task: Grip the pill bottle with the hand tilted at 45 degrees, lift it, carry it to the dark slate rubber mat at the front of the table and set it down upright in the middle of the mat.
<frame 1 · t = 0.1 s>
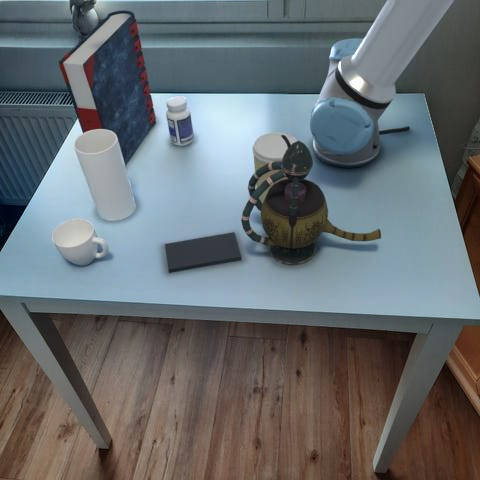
book: (129, 144, 116), on the table
coffee cup: (275, 195, 102), on the table
teapot: (310, 250, 91), on the table
mat: (202, 253, 92), on the table
cup 2: (89, 259, 92), on the table
cup: (117, 209, 101), on the table
pill bottle: (182, 140, 116), on the table
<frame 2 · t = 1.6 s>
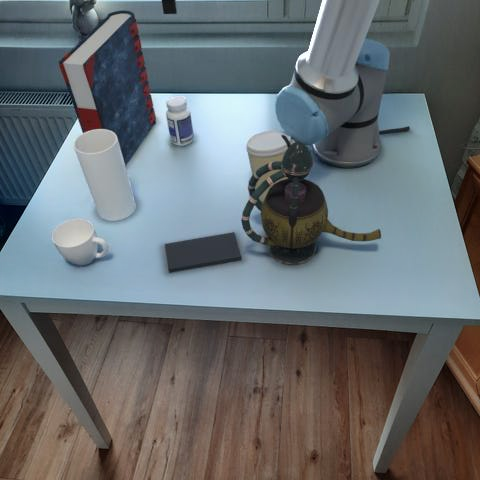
hand: (175, 0, 100), 27 cm above the table, tool pointing down, fingers open, 13 cm apart
coffee cup: (275, 194, 102), on the table, touching arm
everything else where it was.
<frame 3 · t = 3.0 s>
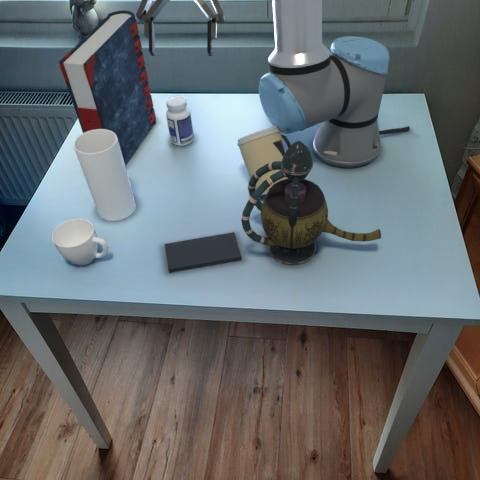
hand: (180, 54, 110), 15 cm above the table, tool tilted 45°, fingers open, 13 cm apart
coffee cup: (274, 191, 100), point 1 cm above the table, touching arm
everything else where it was.
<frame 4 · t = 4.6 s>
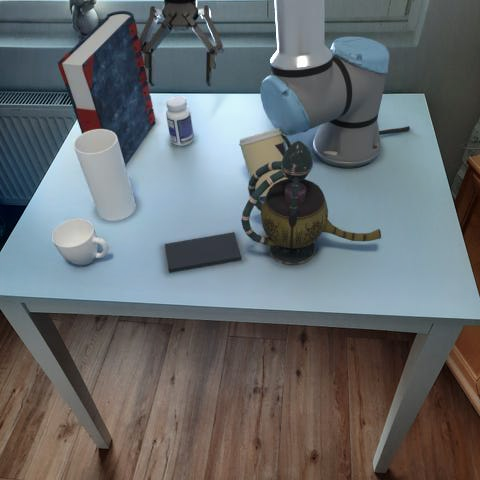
hand: (180, 84, 111), 11 cm above the table, tool tilted 45°, fingers open, 13 cm apart
book: (128, 145, 115), on the table, touching gripper
everything else where it was.
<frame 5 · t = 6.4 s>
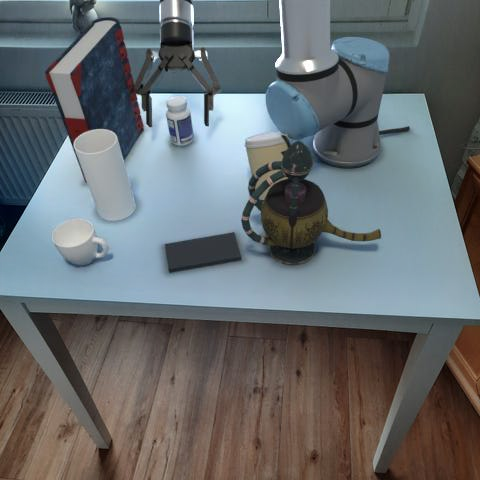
hand: (177, 125, 110), 5 cm above the table, tool tilted 45°, fingers open, 13 cm apart
book: (118, 153, 114), on the table
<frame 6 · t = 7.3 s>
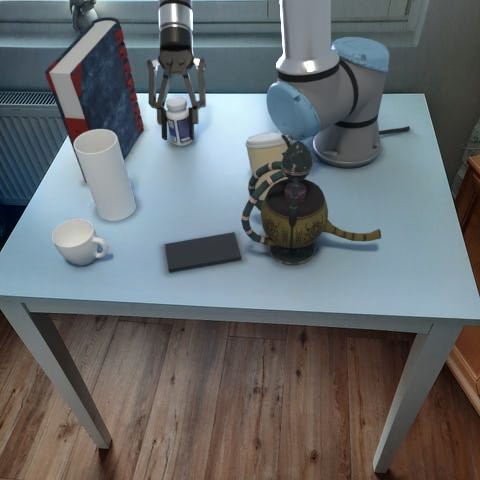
hand: (178, 138, 110), 3 cm above the table, tool tilted 45°, fingers closed on pill bottle, 6 cm apart
pill bottle: (182, 140, 116), on the table, touching gripper
when the fingers open (4 cm above the table, at t = 18.6 s): pill bottle stays where it is, resting on mat.
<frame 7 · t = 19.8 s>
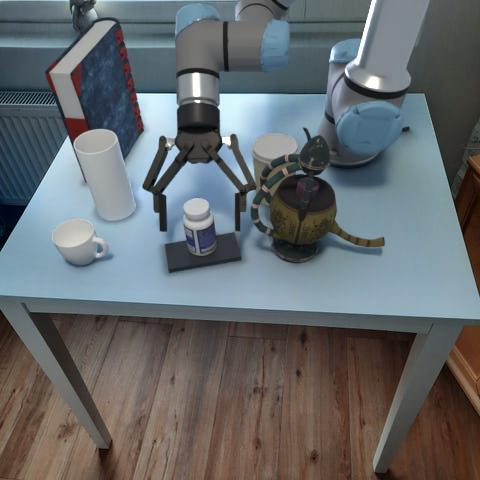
hand: (200, 231, 85), 7 cm above the table, tool tilted 45°, fingers open, 13 cm apart
coffee cup: (274, 195, 102), on the table
pill bottle: (202, 247, 92), point 1 cm above the table, touching mat
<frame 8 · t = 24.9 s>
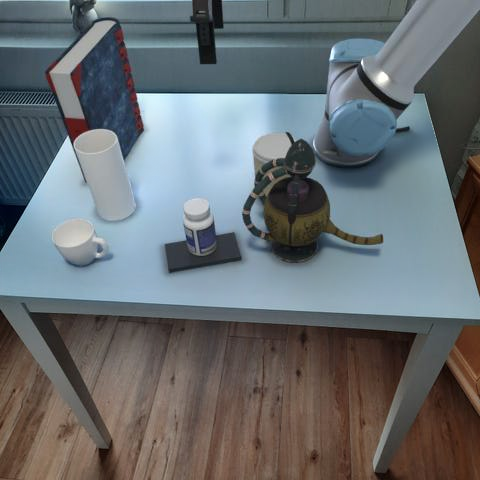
hand: (212, 45, 82), 29 cm above the table, tool pointing down, fingers open, 13 cm apart
at the end: pill bottle inside the target area on the mat (0.9 cm from its centre), point 0.8 cm above the mat's base; pill bottle tilted 0°; the gripper is holding nothing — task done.
